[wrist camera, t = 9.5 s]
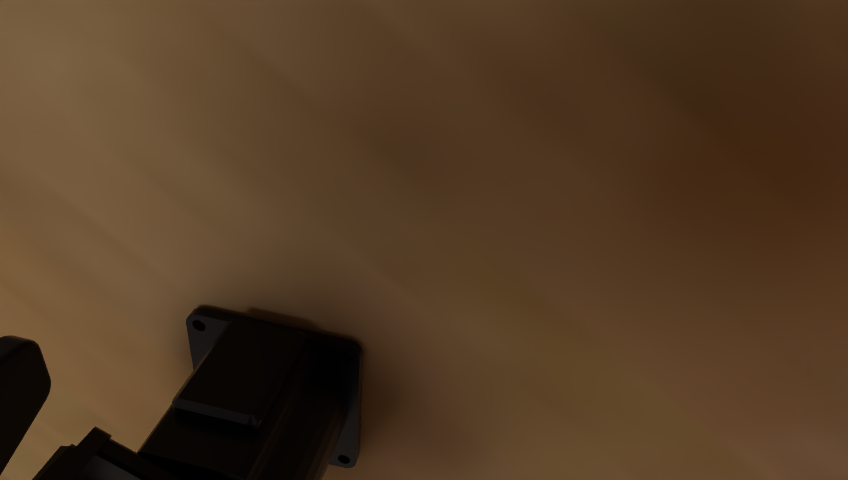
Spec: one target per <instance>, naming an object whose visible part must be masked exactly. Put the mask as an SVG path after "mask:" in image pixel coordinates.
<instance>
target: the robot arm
mask: <svg viewBox="0 0 848 480" xmlns="http://www.w3.org/2000/svg"><path fill="white" fill-rule="evenodd" d="M201 321H202V322H203V323H202V322H201ZM186 325H187V331H188V337H189V344H190V350H191V356H192V362H193V369H194V371H193V372H192V374H191V375H190V376H189V378H188V379H187V381H186V382H185V383H184V385H183V386H182V387H181V389H180V390H179V392H178V393H177V394H176V396H175V397H174V399H173V401H172V404H171V406H170V407H169V409H168V410H167V411H166V413H165V414H164V415H163V417H162V418H161V420H160V421H159V422H158V424H157V425H156V427H155V428H154V429H153V431H152V432H151V434H150V435H149V436H148V438H147V439H146V441H145V442H144V443H143V445H142V446H141V448H140V449H139V450H138V452H137V453H136V452H134V451H132V450H130V449H128V448H127V447H125V446H123V445H121V444H119V443H118V442H116V441H114V440H112V439H110V438H111V436H112V435H110V434H108V433H106V432H105V431H103V430H101V429H99V428H97V427H94V428H93V429H92V430H91V431H90V432H89V433H88V435H87V436H86V437H85V438H84V439H83V440H82V441H81V442H80V443H79V444H78V445H77V446H75V445H73V444H71V445H70V446H60V447H59V449H58V450H57V451H56V452H55V453H54V455H53V456H52V457H51V458H50V459H49V460H48V462H47V463H46V464H45V465H44V466H43V468H42V469H41V470H40V471H39V472H38V473H37V475H36V476H35V477H34V478H33V479H32V480H322V478H323V476H324V473H325V471H326V469H327V466H328V464H332V465H336V466H340V467H344V468H351V467H353V466H355V464H356V461H357V459H358V456H359V445H360V419H361V393H362V367H363V351H362V348H361V347H360V345H359V344H357V343H356V342H354V341H352V340H348V339H344V338H339V337H334V336H330V335H325V334H321V333H316V332H311V331H307V330H302V329H298V328H293V327H288V326H284V325H279V324H275V323H270V322H265V321H261V320H256V319H251V318H247V317H242V316H238V315H233V314H228V313H224V312H219V311H215V310H210V309H205V308H196V309H194V310H193V311H192V313H191V314H190V315H189V316H188V318H187V319H186ZM345 353H348V354H350V355H351V356H349V355H346V354H345ZM50 388H51V379H50V376H49V373H48V370H47V367H46V364H45V361H44V358H43V355H42V352H41V349H40V347H39V345H38V344H37V343H36V342H35V341H33V340H30V339H25V338H21V337H17V336H3V337H1V338H0V475H1V473H2V472H3V470H4V468H5V467H6V465H7V463H8V462H9V460H10V458H11V457H12V455H13V453H14V452H15V450H16V448H17V447H18V445H19V444H20V442H21V440H22V439H23V437H24V435H25V434H26V432H27V430H28V429H29V427H30V425H31V424H32V422H33V420H34V419H35V417H36V415H37V414H38V412H39V411H40V409H41V407H42V406H43V404H44V402H45V401H46V399H47V397H48V395H49V392H50Z"/></svg>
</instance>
